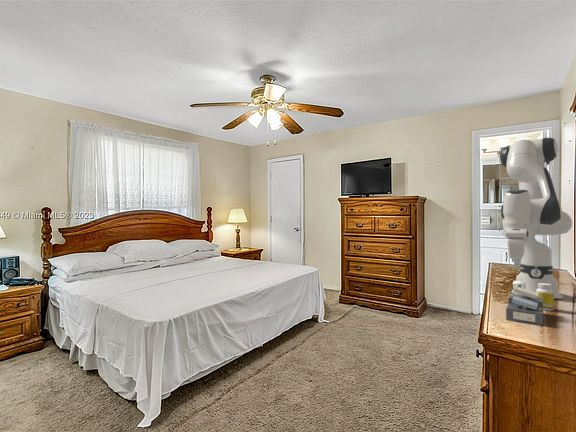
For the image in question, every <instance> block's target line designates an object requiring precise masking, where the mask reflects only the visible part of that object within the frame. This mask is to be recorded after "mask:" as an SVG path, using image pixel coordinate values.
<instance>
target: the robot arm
mask: <svg viewBox="0 0 576 432" xmlns="http://www.w3.org/2000/svg"><path fill="white" fill-rule="evenodd" d="M558 154H559V144H558V142H557V141H556V140H555V138H553V137H543V138H538V139H531V140H530V139H519V140H516V141H515V142H513V143H512V144H511V145H506V146H504V147H502V148H501V150H500V151H499V157H498V158H499V162H500V163H501V165H502V166H503V167H505V168H506V173H507V175H508V176H509V177H510V178H511V179H513V180H515V181H517V182H518V189H512V190H511V189H510V190H507V191H505V192H504V196H503V203H502V205H501V206H500V214H501V215H500V217H501V218H502V223H501V224H502V229H503V230H502V231H503V233H502V236H503V237H505V238H506V240H507V241H506V242H507V249H508V255H509V258H510V259H512V260H513V266H514V269H515V270H520V273H519V274H517V275H516V278H515V279H516V280H515V281H522V282H525V283H526V282H527V283H526V288H525V289H526V290H530V291H533V292H536V290H537V289H539V287H538V283H546V284H551V290H552V291H553V292H554V300H556V299H559V300H561V299H564V295H562V294H561V293H559V292H558V290H559V287H558V279H557V278H556V277H554V275H553V274H554V267H553V265H552V261H553V260H552V248H551V247H550V246H549V245H547V244H545V243H542V242H540V241H538V240H536V237H535V236H557V235H564V234H567V233H568V232H569V231H570V230H572V229H571V228H572V227H573V220H572V218H571V216H570V214H568V213H567V212H565V211H563V209H562V205H561V203H560V202H559V199H558V197H557V194H556V190H555V186H554V184H553V180H552V177H551V174H550V172H549V169H548V168H546V165H547V166H548V165H550V163H551V162H553V161H554V160H555V159H556V158H557V156H558ZM545 163H546V165H545ZM527 280H528V281H527ZM511 293H512V294H514V290H513V289H512V290H511Z"/></svg>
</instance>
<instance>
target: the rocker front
mask: <svg viewBox="0 0 576 432" xmlns="http://www.w3.org/2000/svg"><path fill="white" fill-rule="evenodd" d="M512 303H515V304H518V305H521V306H524V307H527V308H531V309H534V310H536V309H537V304H538V303H536V302H533V301H529V300H526V299H523V298H519V297H516V296H513V299H512Z"/></svg>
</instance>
